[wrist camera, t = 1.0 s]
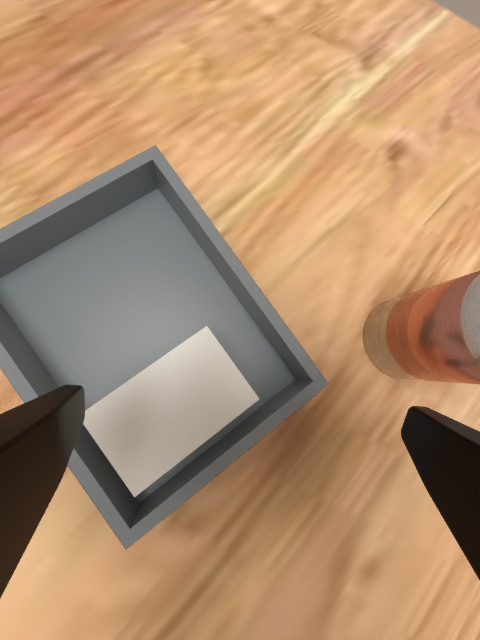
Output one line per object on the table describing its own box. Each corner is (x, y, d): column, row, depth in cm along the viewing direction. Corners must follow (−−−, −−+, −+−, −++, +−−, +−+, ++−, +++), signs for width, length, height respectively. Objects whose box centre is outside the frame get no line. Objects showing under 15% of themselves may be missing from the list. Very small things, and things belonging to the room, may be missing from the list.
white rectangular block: (247, 392, 22) (259, 399, 18) (145, 471, 20) (134, 497, 16) (204, 332, 22) (206, 325, 18) (99, 406, 20) (77, 416, 16)
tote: (305, 380, 23) (328, 383, 19) (138, 514, 20) (125, 550, 16) (161, 181, 24) (155, 145, 20) (-21, 285, 21) (-70, 266, 17)
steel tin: (449, 347, 25) (712, 330, 12) (395, 395, 24) (625, 430, 11) (403, 285, 25) (616, 204, 13) (347, 329, 24) (519, 289, 11)
